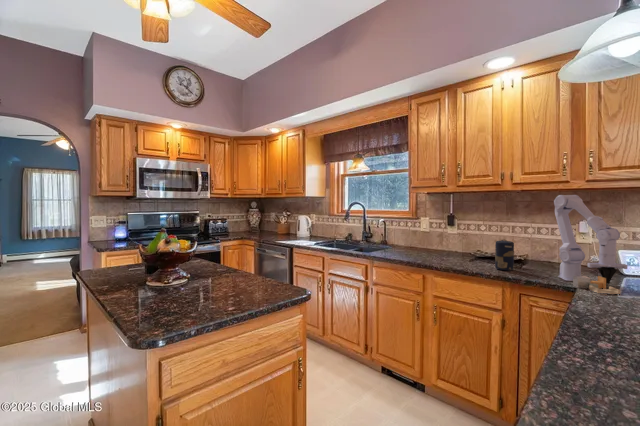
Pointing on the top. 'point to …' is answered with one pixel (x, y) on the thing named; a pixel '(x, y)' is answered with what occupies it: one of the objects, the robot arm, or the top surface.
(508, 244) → the canister
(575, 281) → the grey block
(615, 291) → the tan flat bracket
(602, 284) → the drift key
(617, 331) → the top surface
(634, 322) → the top surface
